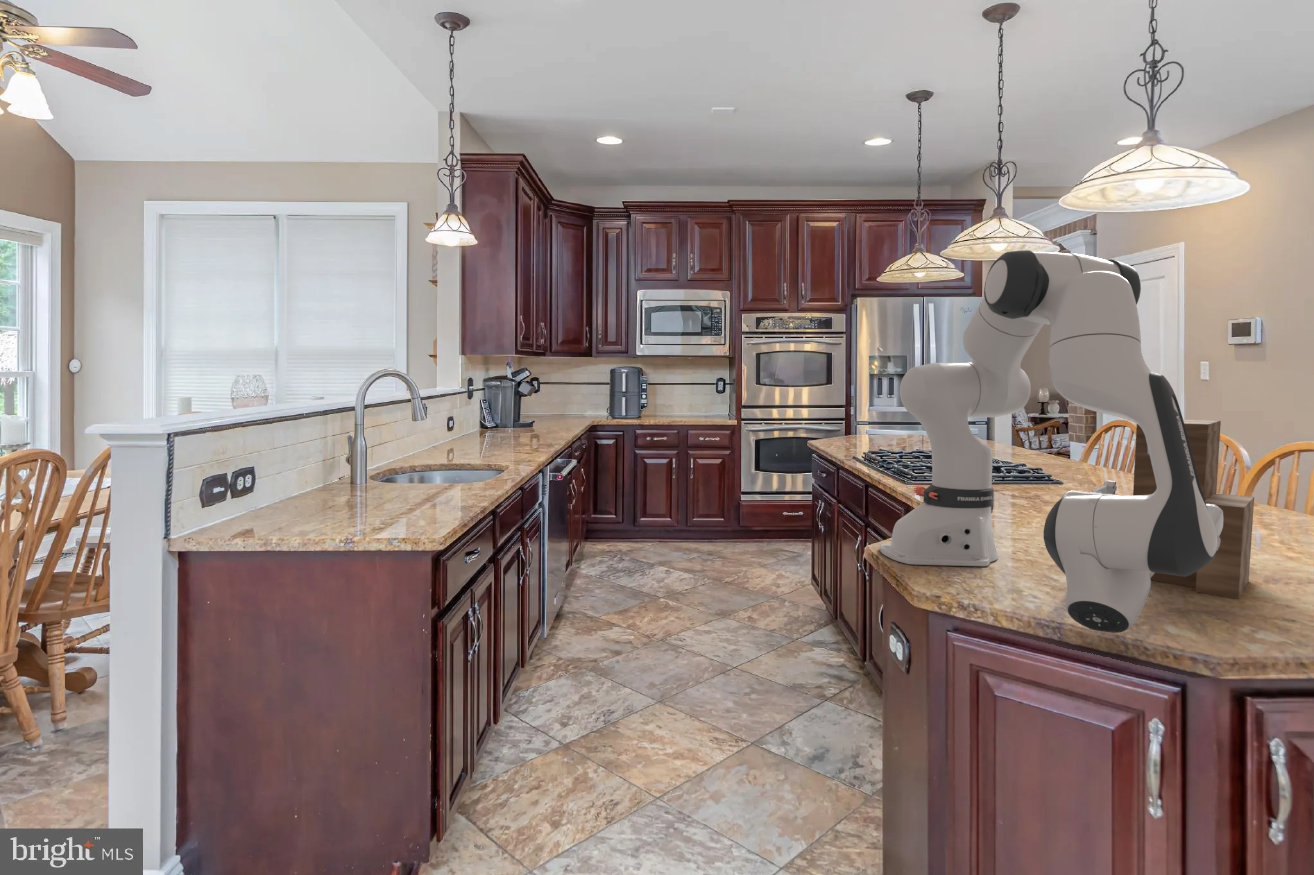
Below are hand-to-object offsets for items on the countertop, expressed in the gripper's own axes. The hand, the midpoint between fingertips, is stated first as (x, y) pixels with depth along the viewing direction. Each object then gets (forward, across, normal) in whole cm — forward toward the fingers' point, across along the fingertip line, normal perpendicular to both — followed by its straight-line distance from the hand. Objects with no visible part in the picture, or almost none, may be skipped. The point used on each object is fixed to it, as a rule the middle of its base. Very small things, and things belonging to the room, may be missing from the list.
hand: (1146, 487), depth 108 cm
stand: (+10, -3, +28) cm, 29 cm away
